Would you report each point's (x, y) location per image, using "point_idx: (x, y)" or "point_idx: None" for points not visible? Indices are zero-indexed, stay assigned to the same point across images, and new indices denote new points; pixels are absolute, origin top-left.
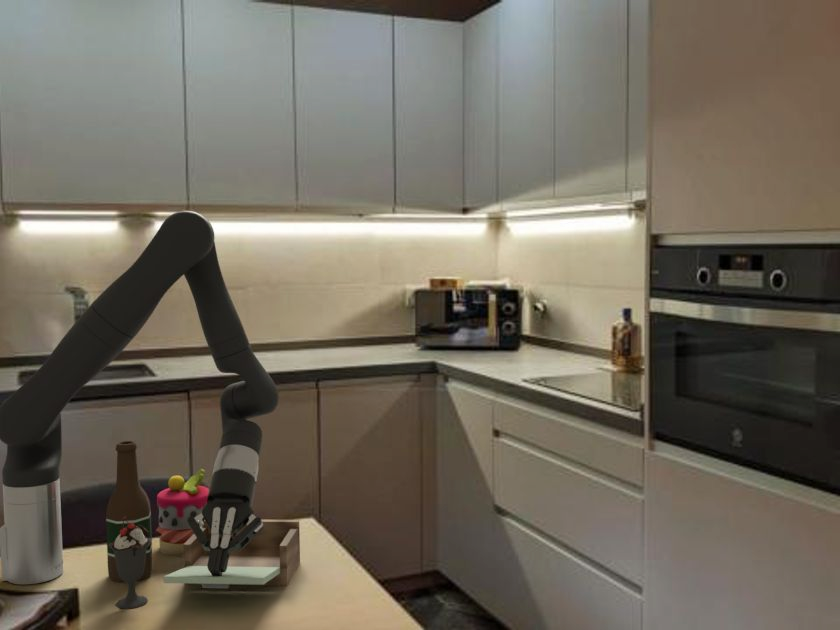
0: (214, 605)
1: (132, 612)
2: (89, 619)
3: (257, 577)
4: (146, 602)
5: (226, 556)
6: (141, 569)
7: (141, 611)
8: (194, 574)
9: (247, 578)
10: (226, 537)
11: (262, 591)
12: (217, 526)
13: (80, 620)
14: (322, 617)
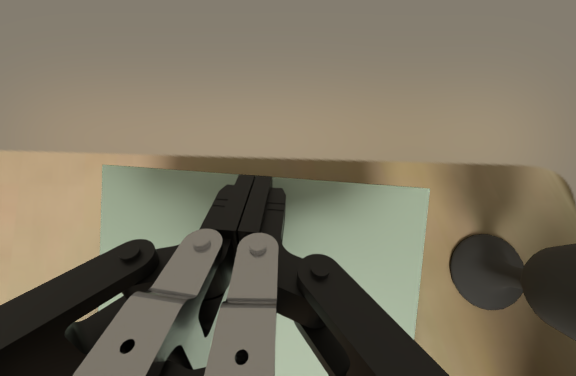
0: None
1: (460, 214)
2: (541, 180)
3: (123, 174)
4: (450, 266)
5: (206, 215)
6: (540, 273)
7: (442, 219)
8: (337, 232)
9: (154, 168)
10: (179, 281)
11: None
12: (223, 354)
13: (558, 176)
14: (47, 175)
